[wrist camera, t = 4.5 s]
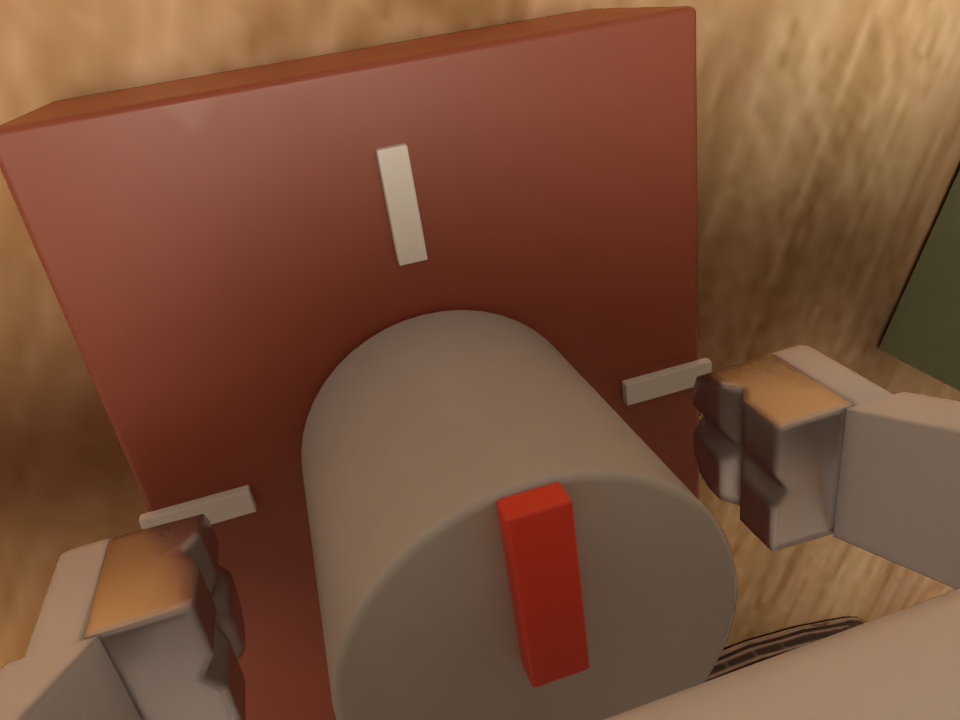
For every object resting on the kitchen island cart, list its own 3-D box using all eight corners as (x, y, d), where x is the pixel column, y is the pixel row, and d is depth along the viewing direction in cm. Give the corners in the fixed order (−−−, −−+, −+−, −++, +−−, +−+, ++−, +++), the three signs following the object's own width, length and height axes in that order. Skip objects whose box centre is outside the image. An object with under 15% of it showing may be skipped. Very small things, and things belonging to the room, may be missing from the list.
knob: (589, 513, 12) (753, 749, 8) (338, 590, 11) (388, 893, 7) (567, 277, 10) (767, 435, 6) (264, 351, 9) (279, 585, 5)
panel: (631, 511, 16) (711, 614, 13) (250, 632, 14) (251, 776, 12) (601, 7, 12) (713, 3, 9) (42, 103, 10) (-36, 135, 7)
